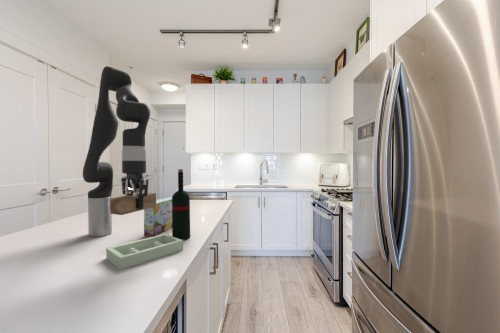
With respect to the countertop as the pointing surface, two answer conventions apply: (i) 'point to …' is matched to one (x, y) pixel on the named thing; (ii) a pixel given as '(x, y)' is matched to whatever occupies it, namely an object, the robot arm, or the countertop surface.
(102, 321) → the countertop surface
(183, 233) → the wine bottle
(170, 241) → the pale green tray
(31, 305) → the countertop surface
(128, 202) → the walnut plank
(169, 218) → the snack box
